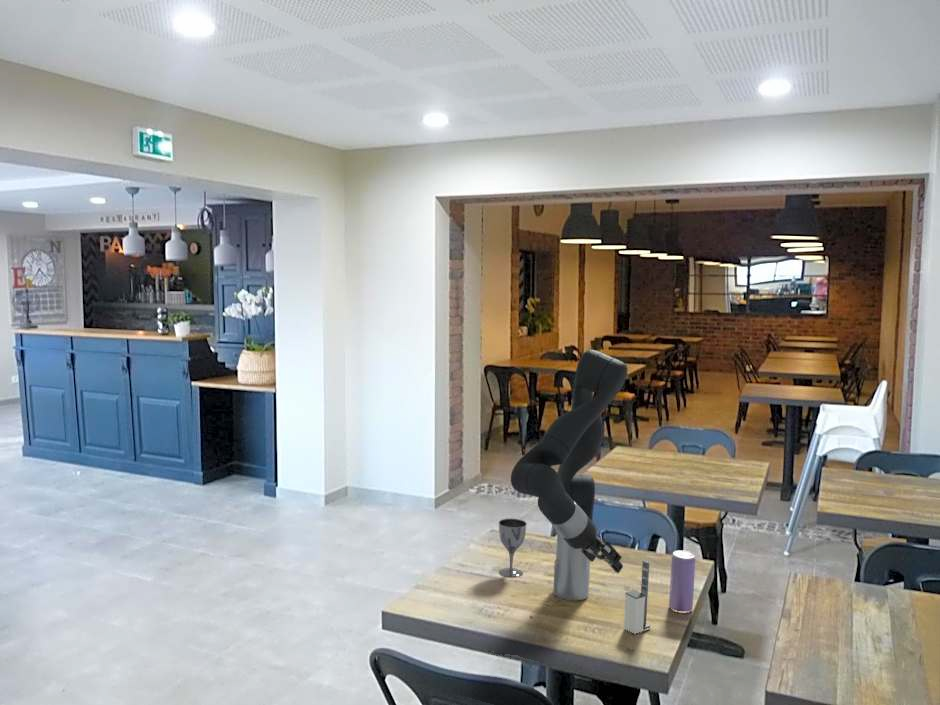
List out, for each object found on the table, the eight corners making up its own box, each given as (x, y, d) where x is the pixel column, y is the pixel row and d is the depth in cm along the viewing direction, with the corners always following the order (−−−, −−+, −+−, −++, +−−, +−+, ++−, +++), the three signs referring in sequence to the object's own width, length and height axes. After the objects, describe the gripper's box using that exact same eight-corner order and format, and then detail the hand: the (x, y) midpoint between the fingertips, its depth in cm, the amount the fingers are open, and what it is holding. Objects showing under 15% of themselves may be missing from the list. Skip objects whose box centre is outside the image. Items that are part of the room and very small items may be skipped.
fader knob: (634, 634, 183) (636, 597, 182) (623, 628, 186) (625, 592, 185) (643, 631, 185) (645, 595, 184) (632, 625, 188) (634, 589, 187)
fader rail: (644, 631, 185) (647, 564, 184) (635, 626, 188) (638, 560, 186) (649, 629, 186) (653, 562, 185) (640, 624, 189) (644, 559, 187)
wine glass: (529, 571, 221) (531, 522, 220) (516, 580, 214) (518, 529, 213) (505, 565, 225) (507, 516, 224) (492, 573, 219) (493, 523, 217)
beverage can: (693, 615, 195) (696, 559, 194) (669, 612, 196) (672, 557, 195) (691, 605, 201) (694, 551, 199) (668, 603, 202) (671, 549, 201)
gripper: (603, 518, 165) (637, 560, 173) (560, 502, 177) (594, 542, 184) (584, 546, 163) (620, 587, 170) (542, 528, 174) (577, 567, 182)
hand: (606, 563), depth 177 cm, fingers open, 8 cm apart
